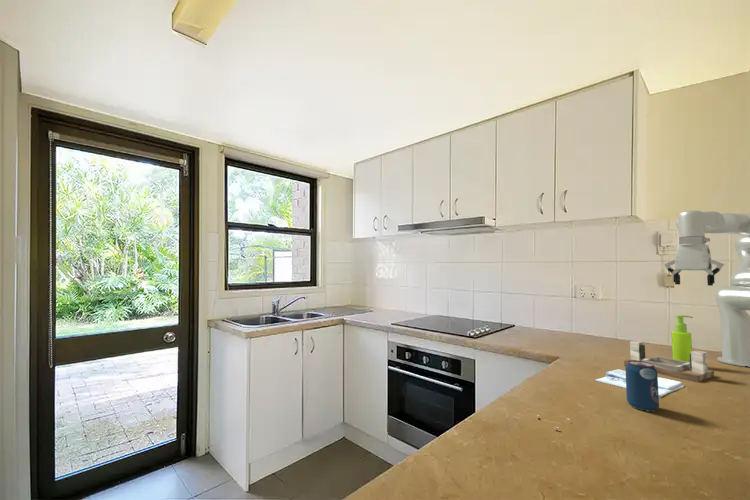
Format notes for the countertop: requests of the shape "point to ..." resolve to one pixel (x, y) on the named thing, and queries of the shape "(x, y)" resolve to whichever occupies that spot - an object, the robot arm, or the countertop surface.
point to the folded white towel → (619, 380)
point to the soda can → (642, 385)
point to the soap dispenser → (681, 341)
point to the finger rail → (674, 364)
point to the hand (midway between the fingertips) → (693, 284)
